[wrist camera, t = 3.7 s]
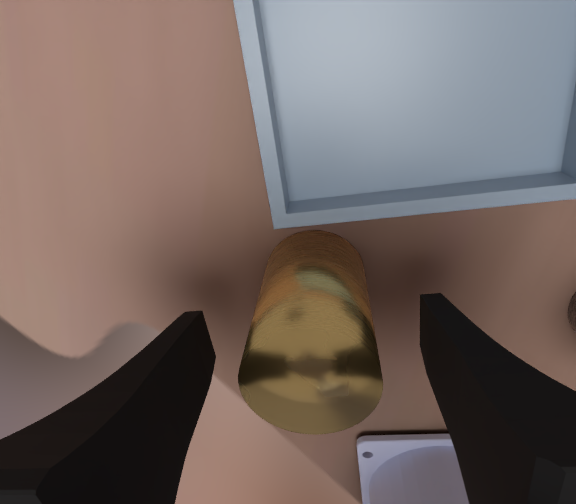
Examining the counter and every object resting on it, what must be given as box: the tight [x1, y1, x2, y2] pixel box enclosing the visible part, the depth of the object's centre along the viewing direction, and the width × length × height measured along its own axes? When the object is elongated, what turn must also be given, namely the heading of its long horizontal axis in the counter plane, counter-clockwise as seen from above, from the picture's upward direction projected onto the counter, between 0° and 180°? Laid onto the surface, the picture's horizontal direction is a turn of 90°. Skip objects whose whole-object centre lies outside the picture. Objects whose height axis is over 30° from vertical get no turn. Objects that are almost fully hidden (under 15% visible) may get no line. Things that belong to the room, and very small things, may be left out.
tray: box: [233, 0, 576, 229], centre depth 11 cm, size 10×10×2 cm
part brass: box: [238, 230, 383, 434], centre depth 14 cm, size 4×4×6 cm
